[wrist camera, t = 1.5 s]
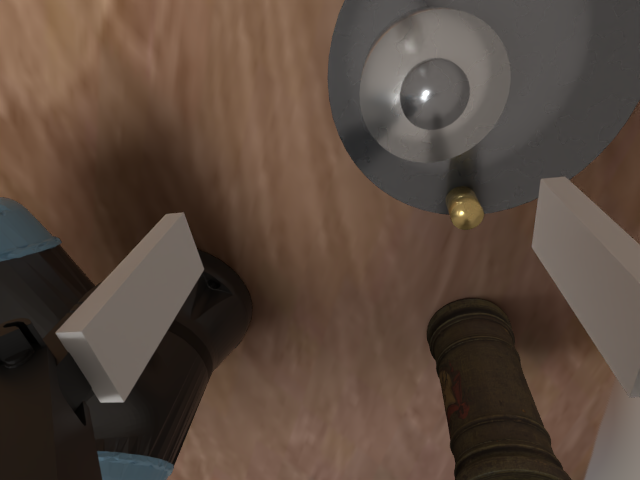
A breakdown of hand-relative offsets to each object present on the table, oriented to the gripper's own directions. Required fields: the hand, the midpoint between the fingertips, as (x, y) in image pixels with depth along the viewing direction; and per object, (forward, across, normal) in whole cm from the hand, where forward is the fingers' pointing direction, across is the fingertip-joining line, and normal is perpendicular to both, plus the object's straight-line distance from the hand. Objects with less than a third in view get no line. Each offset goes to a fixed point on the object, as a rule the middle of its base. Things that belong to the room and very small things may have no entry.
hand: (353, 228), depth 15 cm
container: (+22, +9, -26) cm, 35 cm away
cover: (+18, +5, +2) cm, 19 cm away
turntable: (+20, +9, +1) cm, 22 cm away
